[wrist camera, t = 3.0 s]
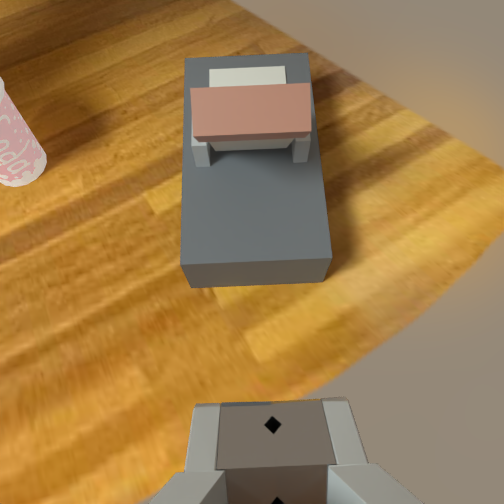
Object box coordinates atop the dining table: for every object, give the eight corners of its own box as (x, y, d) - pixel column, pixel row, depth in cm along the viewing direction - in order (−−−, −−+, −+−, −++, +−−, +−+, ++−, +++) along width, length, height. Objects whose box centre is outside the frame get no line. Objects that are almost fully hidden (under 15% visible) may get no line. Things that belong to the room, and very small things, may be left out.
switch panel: (191, 288, 33) (173, 249, 26) (193, 101, 40) (179, 32, 33) (322, 282, 33) (338, 242, 26) (302, 96, 40) (310, 26, 33)
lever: (213, 157, 32) (193, 136, 21) (211, 126, 32) (190, 88, 20) (289, 153, 32) (311, 131, 21) (288, 122, 32) (310, 82, 20)
